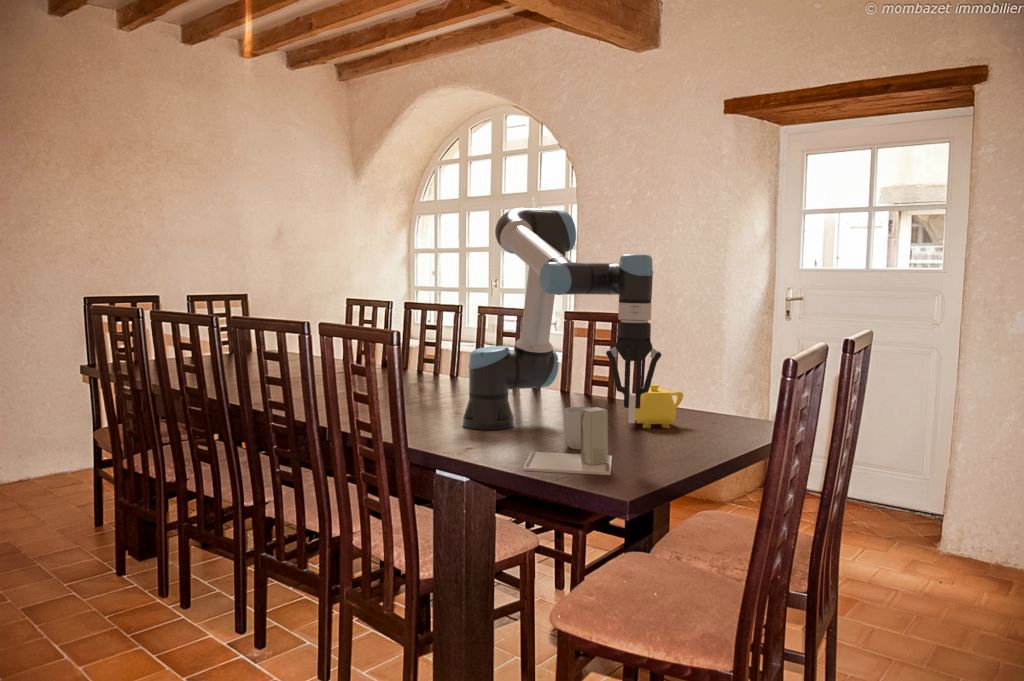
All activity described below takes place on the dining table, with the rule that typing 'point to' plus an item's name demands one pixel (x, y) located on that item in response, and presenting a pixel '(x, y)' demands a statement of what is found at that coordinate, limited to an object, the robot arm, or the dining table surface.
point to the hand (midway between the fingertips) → (631, 421)
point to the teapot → (657, 407)
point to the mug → (573, 426)
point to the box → (594, 435)
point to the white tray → (564, 464)
